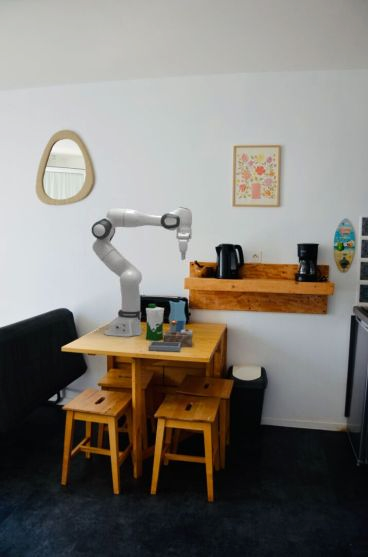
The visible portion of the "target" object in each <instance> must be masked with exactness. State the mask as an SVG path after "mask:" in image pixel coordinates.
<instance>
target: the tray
mask: <svg viewBox="0 0 368 557" xmlns="http://www.w3.org/2000/svg"><path fill="white" fill-rule="evenodd" d="M148 351H149V352H163V353H164V352H165V353H168V352H169V353H180V352H181V342H163V341H158V340H157V341H153V340H150V343H149V345H148Z"/></svg>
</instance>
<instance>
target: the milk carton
mask: <svg viewBox="0 0 368 557" xmlns="http://www.w3.org/2000/svg"><path fill="white" fill-rule="evenodd" d="M164 311H165V307H158V306H156V303H149V304H148V307H146V308H145V313H146V334H145V340H149V341H157V342H158V341H159V340H160V341H161V340H163V335H164V333H163V332H164V330H163V329H164V328H163V327H164V313H165V312H164Z"/></svg>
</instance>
